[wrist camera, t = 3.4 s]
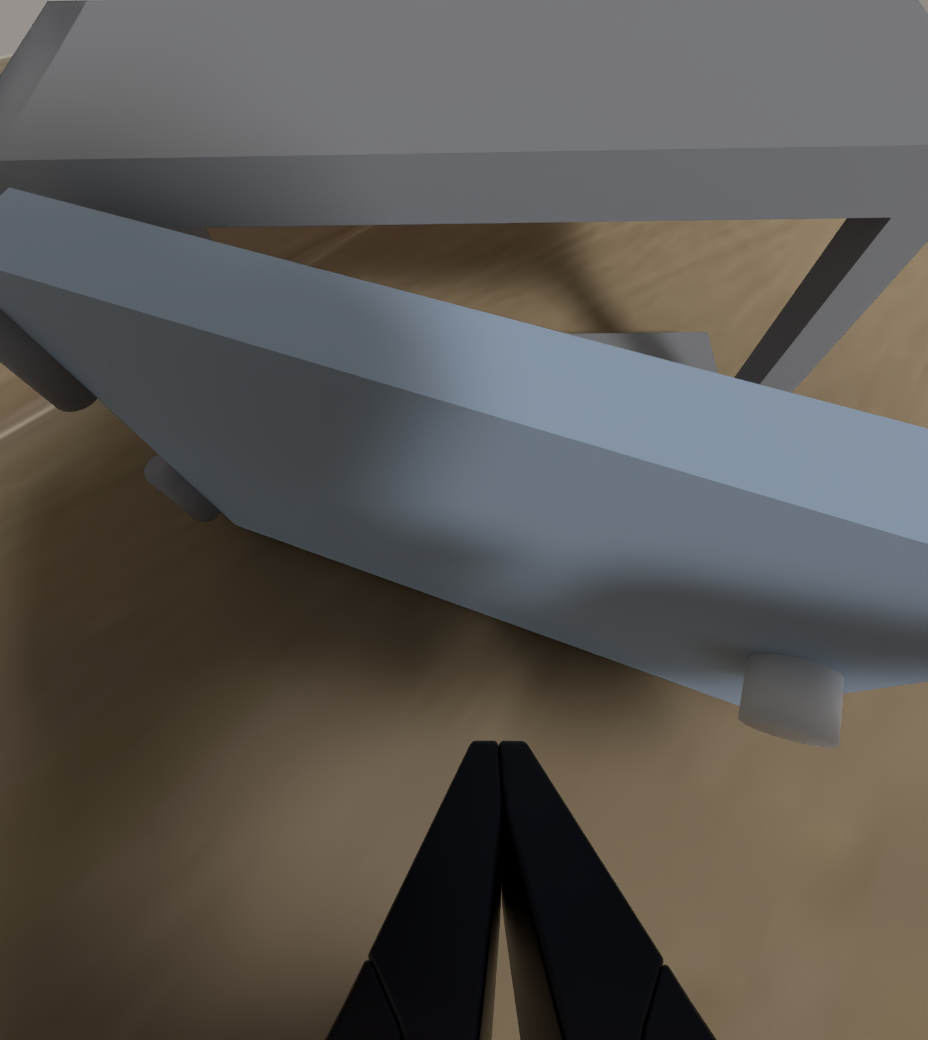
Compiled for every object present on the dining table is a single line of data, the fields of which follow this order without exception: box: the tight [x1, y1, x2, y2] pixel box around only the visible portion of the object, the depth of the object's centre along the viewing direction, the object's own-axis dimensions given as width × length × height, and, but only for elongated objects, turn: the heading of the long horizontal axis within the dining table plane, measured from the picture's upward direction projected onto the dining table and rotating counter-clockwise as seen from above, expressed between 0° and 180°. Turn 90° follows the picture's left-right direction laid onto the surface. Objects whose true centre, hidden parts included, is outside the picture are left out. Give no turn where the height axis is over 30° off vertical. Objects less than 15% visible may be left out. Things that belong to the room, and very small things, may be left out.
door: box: [0, 187, 928, 748], centre depth 11 cm, size 3×17×10 cm, turn 70°
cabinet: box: [0, 0, 928, 393], centre depth 14 cm, size 5×17×10 cm, turn 90°
